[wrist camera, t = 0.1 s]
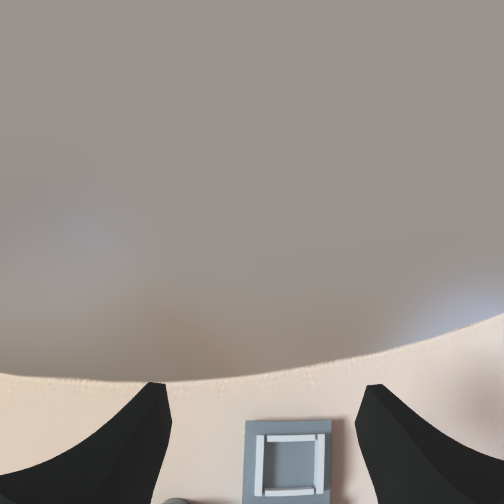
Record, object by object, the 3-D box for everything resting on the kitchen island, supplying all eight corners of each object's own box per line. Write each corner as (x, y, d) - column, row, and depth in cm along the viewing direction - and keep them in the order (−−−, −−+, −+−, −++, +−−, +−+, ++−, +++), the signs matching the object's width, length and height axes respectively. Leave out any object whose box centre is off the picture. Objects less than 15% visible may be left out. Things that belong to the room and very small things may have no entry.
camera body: (322, 521, 28) (331, 530, 24) (241, 524, 28) (241, 535, 24) (325, 420, 37) (335, 418, 33) (245, 421, 37) (246, 420, 33)
